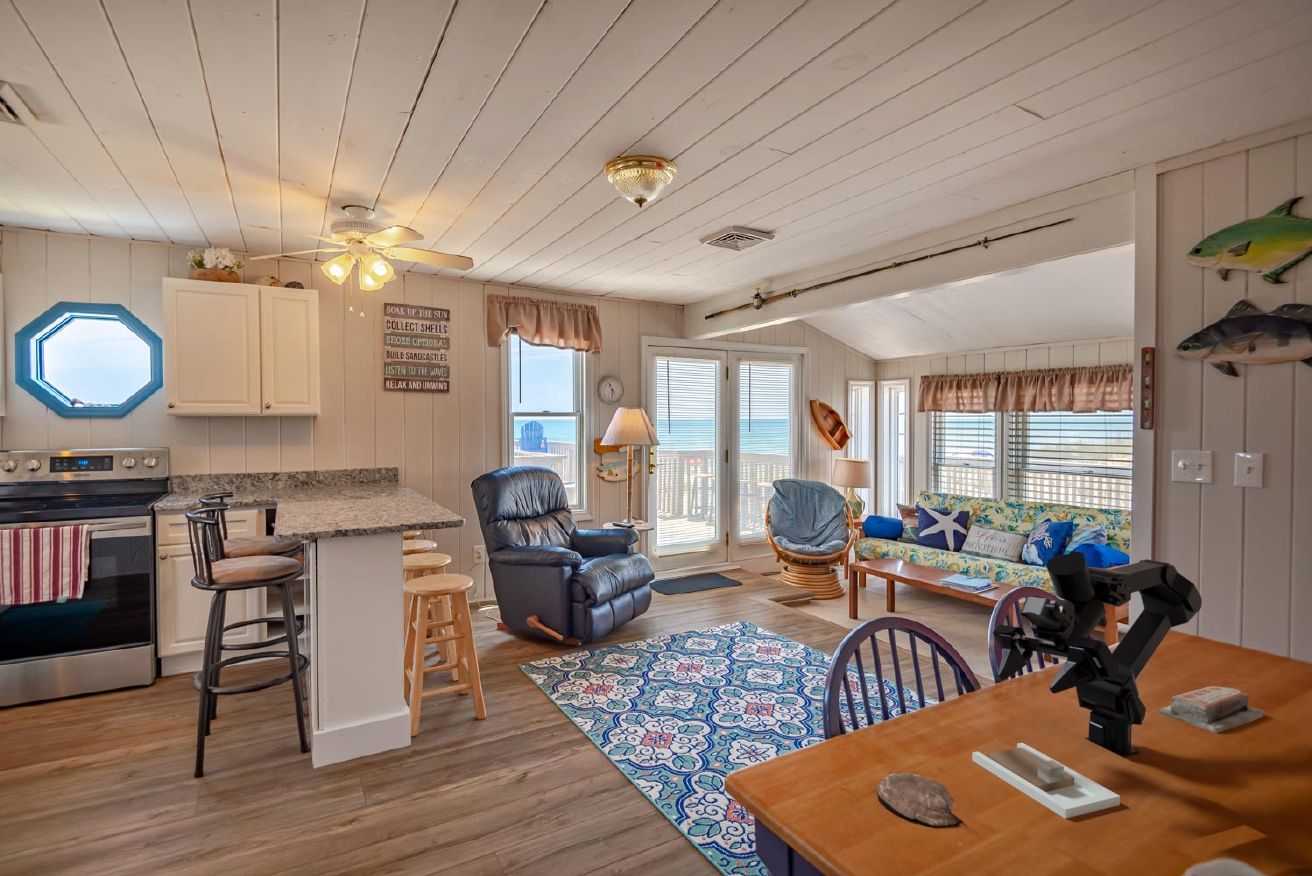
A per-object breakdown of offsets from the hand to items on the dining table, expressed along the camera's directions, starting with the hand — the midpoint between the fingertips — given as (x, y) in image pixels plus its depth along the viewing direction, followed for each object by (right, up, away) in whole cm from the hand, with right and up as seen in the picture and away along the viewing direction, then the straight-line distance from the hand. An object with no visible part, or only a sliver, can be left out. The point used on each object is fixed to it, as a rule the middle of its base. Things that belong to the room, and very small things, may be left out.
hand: (1024, 684), depth 106 cm
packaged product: (+53, -17, +27) cm, 62 cm away
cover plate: (+1, -15, +1) cm, 15 cm away
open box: (+2, -16, -1) cm, 16 cm away
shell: (-19, -17, -5) cm, 26 cm away
